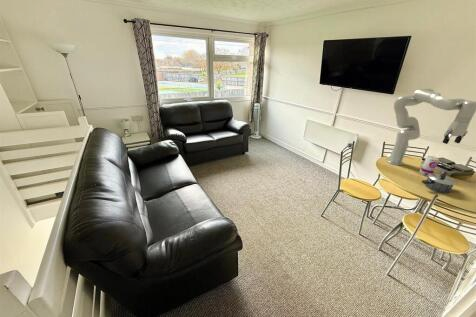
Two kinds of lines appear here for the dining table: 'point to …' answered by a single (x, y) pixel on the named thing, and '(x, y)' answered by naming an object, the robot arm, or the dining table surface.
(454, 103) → the robot arm
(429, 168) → the supplement can
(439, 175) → the lid
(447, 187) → the pot
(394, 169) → the dining table surface
